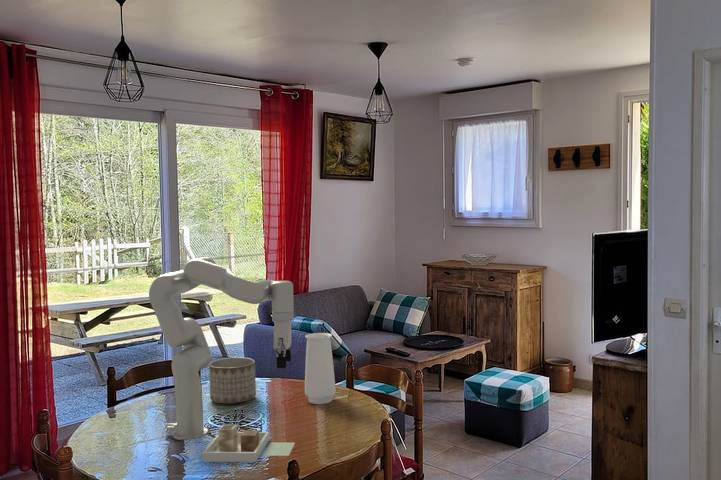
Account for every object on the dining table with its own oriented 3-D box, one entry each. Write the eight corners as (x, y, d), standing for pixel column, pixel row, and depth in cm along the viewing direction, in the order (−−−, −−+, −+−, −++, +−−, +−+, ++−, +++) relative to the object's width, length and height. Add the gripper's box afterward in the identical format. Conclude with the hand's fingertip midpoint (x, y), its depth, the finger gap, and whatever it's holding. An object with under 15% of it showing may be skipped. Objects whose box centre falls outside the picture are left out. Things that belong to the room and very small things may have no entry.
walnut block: (241, 453, 218) (240, 435, 218) (244, 447, 223) (244, 430, 223) (255, 453, 218) (255, 435, 217) (259, 447, 223) (258, 430, 222)
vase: (319, 394, 287) (317, 331, 285) (342, 399, 278) (340, 334, 277) (298, 401, 277) (296, 336, 275) (321, 407, 268) (319, 339, 267)
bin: (202, 463, 212) (202, 452, 212) (220, 441, 231) (220, 431, 231) (255, 463, 210) (255, 452, 210) (269, 441, 230) (268, 431, 230)
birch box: (219, 453, 219) (218, 429, 218) (223, 447, 224) (222, 424, 223) (233, 453, 218) (232, 429, 218) (237, 447, 223) (236, 424, 223)
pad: (261, 457, 216) (261, 455, 216) (269, 444, 228) (269, 442, 227) (288, 457, 215) (288, 455, 215) (295, 444, 227) (295, 442, 227)
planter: (206, 397, 286) (204, 360, 285) (249, 391, 294) (248, 355, 294) (216, 409, 269) (214, 370, 268) (261, 402, 277) (260, 364, 276)
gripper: (276, 312, 237) (277, 358, 238) (267, 320, 220) (268, 370, 221) (297, 312, 237) (298, 358, 238) (289, 320, 220) (290, 370, 221)
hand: (284, 364), depth 229 cm, fingers open, 9 cm apart
